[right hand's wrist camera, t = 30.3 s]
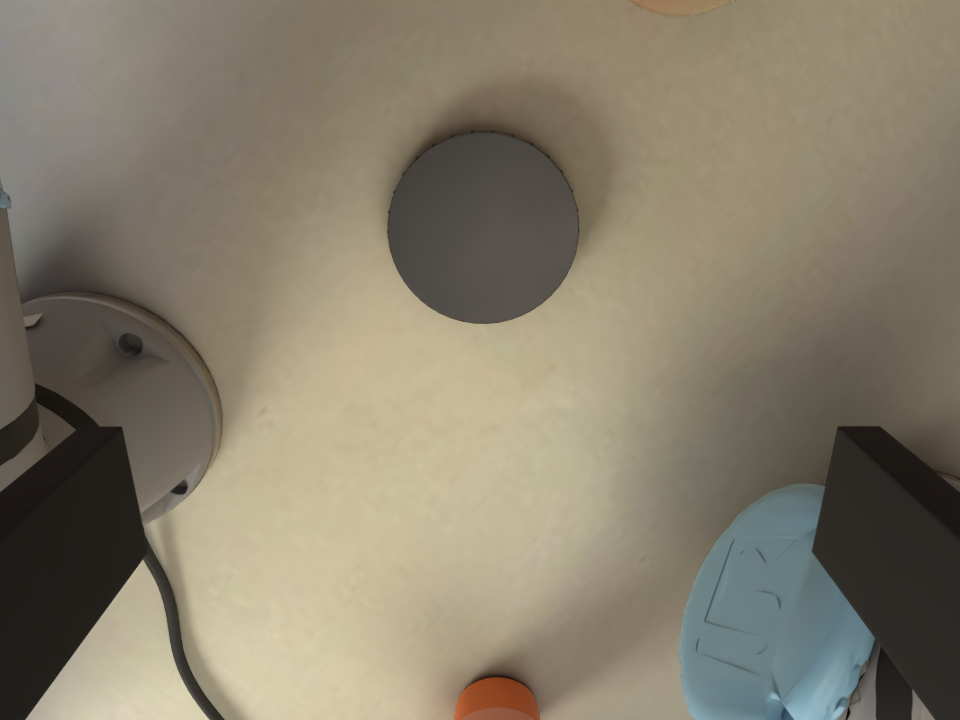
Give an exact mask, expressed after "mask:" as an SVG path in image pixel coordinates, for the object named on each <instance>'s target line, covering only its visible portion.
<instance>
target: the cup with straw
mask: <svg viewBox="0 0 960 720" xmlns="http://www.w3.org/2000/svg"><path fill="white" fill-rule="evenodd" d="M454 720H540V717H539V712H538V708H537V704H536V700H535V698H534V696H533V694H532V693H531V691H530V690H529V689H528V688H527V687H525V686H524V685H523V684H521V683H519V682H517V681H514V680H512V679H508V678H501V677H493V678H486V679H482V680H479V681H477V682H475V683H473V684H471V685H470V686H468V687H467V688H466V689H465V690H464V691H463V692H462V693H461V695H460V697H459V699H458V702H457V706H456V711H455V718H454Z"/></svg>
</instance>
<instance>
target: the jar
mask: <svg viewBox="0 0 960 720" xmlns="http://www.w3.org/2000/svg"><path fill="white" fill-rule="evenodd" d="M630 1H632V2H634V3H635V4H637V5H638V6H640V7H642V8H645V9H647V10H649V11H652V12H655V13H659V14H663V15H672V16H687V15H693V14H699V13H703V12H706V11H709V10H712V9H715V8H717V7H720V6H722V5H725V4H727V3H730V2H733V1H735V0H630Z"/></svg>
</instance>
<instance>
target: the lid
mask: <svg viewBox="0 0 960 720" xmlns="http://www.w3.org/2000/svg"><path fill="white" fill-rule="evenodd" d="M533 145H534V144H533V143H528V142H526V141H524V140H522V139H520V138H518V137H515V135H514V134H512V136H511V135H508V134H505V133H499V132H494V130H492V131H475V132H473V130H471V132H467V133H463V134H458V135H455V136H454V135H451V137H450V138H447V139H445V140H443V141H441V142H439V143H437V144H436V145H435V143H434V144H433V145H432V147H431V148H430V149H428V150H427V151H426V152H424V153H423V154H422V155H421V156H420V157H419V156H417V157H416V158H415V159H416V161H415V162H414V163H413V164H412V165H411V166H410V167H409V169H408V170H407V171H405V172H404V173H403V174H402V175H403V177H402V179H401V181H400V182H399V184H398V186H397V188H396V190H395V191H394V192H393V193H394V196H393V198H392V202H391V206H390V210H389V211H388V213H389V217H388V231H387V233H388V240H389V246H390V252H391V254H392V258H393V261H394V263H395V266H396V268H397V270H398V272H399V274H400V276H401V277H402V279H403V281H404V282H405V284H406V285H407V286H408V288H409V289H410V290H411V291H412V292H413V293H414V294H415V295H416V296H417V297H418V298H419V299H420V300H421V301H422V302H423V303H425V304H426V305H427V306H428V307H430V308H431V309H433V310H435V311H437V312H438V313H440V314H442V315H445V316H447V317H449V318H452V319H455V320H459V321H462V322H468V323H476V324H489V323H499V322H503V321H508V320H511V319H514V318H517V317H520V316H522V315H524V314H526V313H528V312H530V311H532V310H533V309H535V308H536V307H538V306H539V305H541V304H542V303H543V302H544V301H546V300H547V299H548V298H549V297H550V296H551V295H552V294H553V293H554V292H555V291H556V289H557V288H558V287H559V286H560V284H561V283H562V281H563V280H564V278H565V277H566V275H567V273H568V271H569V269H570V267H571V265H572V262H573V259H574V257H575V253H576V249H577V244H578V236H579V219H578V209H577V206H576V203H575V199H574V196H573V193H572V192H573V190H572V189H571V188H570V187H569V185H568V182H567V180H566V179H565V177H564V176H563V172H562V171H561V170H559V169H558V168H557V166H556V165H555V164H554V163H553V162H552V161H551V160H550V159H549V158H550V157H549V156H548V155H545V154H543V153H542V152H541V151H540V150H539V149H537V148H536V147H534V146H533Z"/></svg>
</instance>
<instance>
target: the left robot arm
mask: <svg viewBox="0 0 960 720" xmlns="http://www.w3.org/2000/svg"><path fill="white" fill-rule="evenodd" d="M935 472H936V473H937V474H938V475H940V476H941V477H942V478H943V479H944V480H946V481H947V482H948V483H949V484H951V485H952V486H953V487H954V488H955V489H957V490H958V491H959V492H960V479H958V478H955V477H953V476H950V475H948V474H944V473H941V472H937V471H935ZM824 490H825V486H823V485H818V484H812V483H801V484H793V485H789V486H785V487H781V488H779V489H776V490H774V491H771V492H769V493H767V494H765V495H764V496H762V497H760V498H759V499H757V500H756V501H754V502H753V503H752V504H750V505H749V506H748V507H746V508H745V509H744V510H743V511H742V512H741V513H740V514H739V515H738V516H737V517H736V518H735V520H734V521H733V522H732V524H731V525H730V526H729V527H728V528H727V529H726V530H725V531H723V533H722V534H721V535H720V536H719V538H718V539H717V541H716V542H715V544H714V545H713V547H712V548H711V550H710V551H709V553H708V555H707V556H706V558H705V560H704V562H703V564H702V566H701V568H700V570H699V572H698V574H697V576H696V579H695V581H694V584H693V586H692V589H691V592H690V595H689V598H688V601H687V604H686V608H685V612H684V616H683V621H682V627H681V634H680V643H679V659H680V662H681V684H682V689H683V693H684V696H685V700H686V703H687V706H688V708H689V711H690V713H691V715H692V717H693V719H694V720H935V719H934V718H933V716H932V715H931V714H930V712H929V711H928V710H927V708H926V707H925V706H924V704H923V703H922V701H921V700H920V699H919V697H918V696H917V695H916V693H915V692H914V691H913V689H912V688H911V686H910V685H909V684H908V682H907V681H906V680H905V678H904V677H903V676H902V674H901V673H900V671H899V670H898V669H897V667H896V666H895V665H894V663H893V662H892V661H891V659H890V658H889V656H888V655H887V654H886V652H885V651H884V650H883V648H882V647H881V646H880V644H879V643H878V642H877V640H876V639H875V637H874V636H873V635H872V633H871V632H870V631H869V629H868V628H867V627H866V625H865V624H864V622H863V621H862V620H861V618H860V617H859V616H858V614H857V613H856V612H855V610H854V609H853V607H852V606H851V605H850V603H849V602H848V601H847V599H846V598H845V597H844V595H843V594H842V592H841V591H840V590H839V588H838V587H837V586H836V584H835V583H834V582H833V580H832V579H831V577H830V576H829V575H828V573H827V572H826V571H825V569H824V568H823V567H822V565H821V564H820V562H819V561H818V560H817V558H816V557H815V556H814V554H813V553H812V547H813V543H814V538H815V533H816V528H817V524H818V519H819V514H820V509H821V504H822V500H823V495H824Z"/></svg>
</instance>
